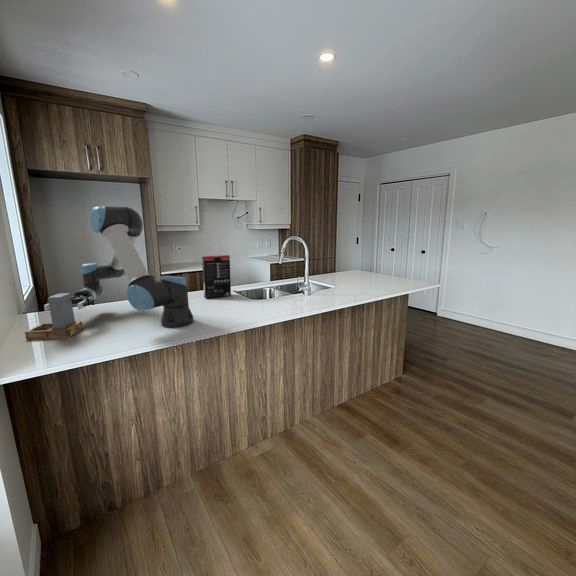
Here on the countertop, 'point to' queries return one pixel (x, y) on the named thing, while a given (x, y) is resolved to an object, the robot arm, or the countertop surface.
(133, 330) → the countertop surface
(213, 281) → the graphics card box
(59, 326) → the block
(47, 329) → the divided wooden tray
